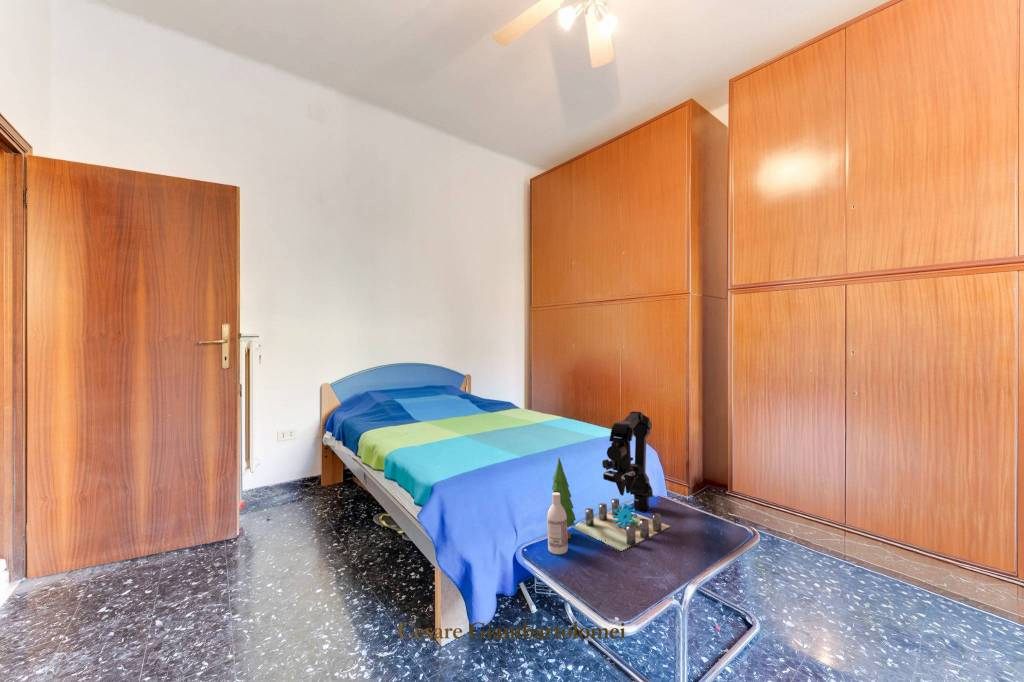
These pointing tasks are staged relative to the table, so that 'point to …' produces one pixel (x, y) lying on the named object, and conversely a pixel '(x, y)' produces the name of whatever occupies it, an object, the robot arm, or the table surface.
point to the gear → (625, 516)
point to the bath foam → (557, 526)
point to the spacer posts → (629, 528)
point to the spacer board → (615, 531)
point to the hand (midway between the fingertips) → (624, 494)
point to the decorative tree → (564, 494)
